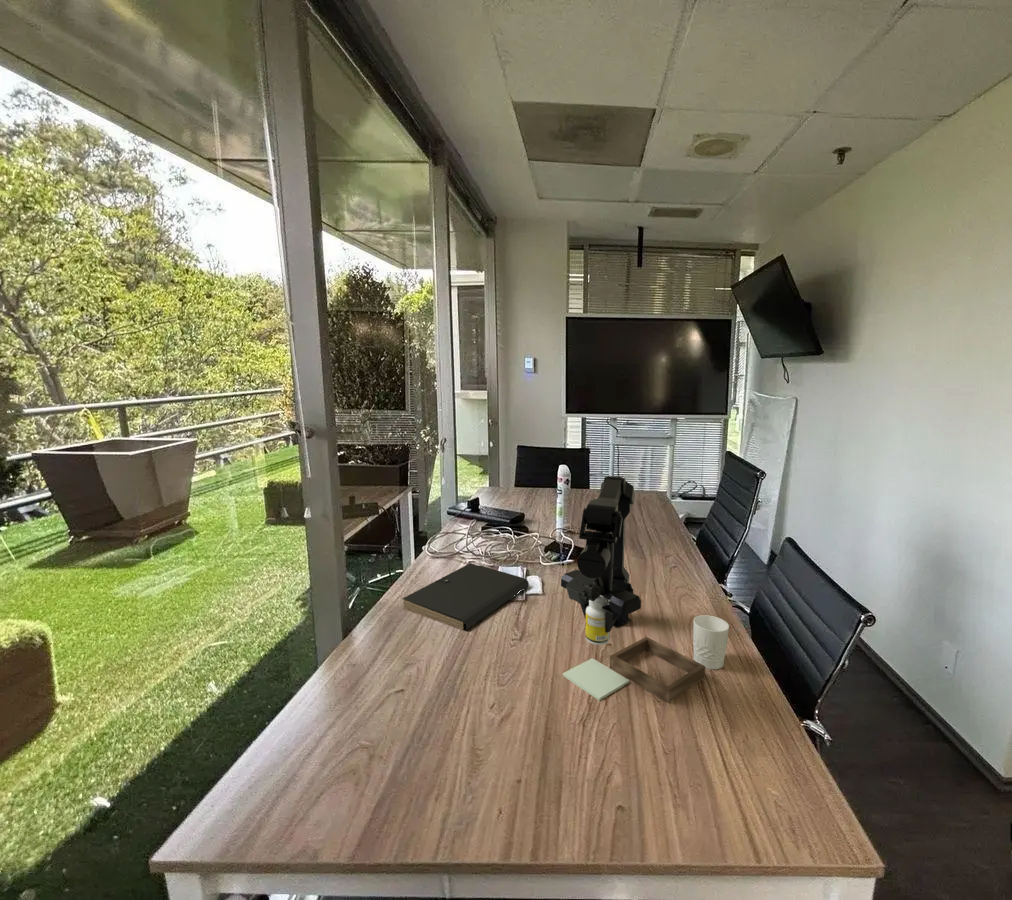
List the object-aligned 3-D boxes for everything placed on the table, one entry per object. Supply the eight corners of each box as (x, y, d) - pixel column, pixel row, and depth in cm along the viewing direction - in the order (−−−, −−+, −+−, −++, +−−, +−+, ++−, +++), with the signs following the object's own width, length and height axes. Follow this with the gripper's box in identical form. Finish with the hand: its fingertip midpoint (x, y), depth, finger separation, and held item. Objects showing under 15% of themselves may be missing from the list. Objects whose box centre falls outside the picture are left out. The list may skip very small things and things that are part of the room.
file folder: (469, 561, 171) (528, 578, 158) (469, 573, 171) (528, 590, 158) (401, 597, 143) (466, 620, 130) (402, 610, 144) (466, 634, 131)
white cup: (705, 673, 113) (707, 633, 111) (684, 655, 120) (686, 617, 119) (733, 668, 115) (736, 628, 113) (711, 650, 122) (713, 613, 121)
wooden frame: (609, 667, 115) (609, 655, 114) (645, 647, 123) (646, 636, 123) (668, 703, 102) (669, 690, 102) (704, 678, 111) (705, 666, 110)
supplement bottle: (592, 630, 113) (593, 590, 111) (613, 638, 109) (615, 597, 108) (580, 640, 109) (581, 599, 107) (602, 648, 105) (603, 606, 104)
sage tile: (562, 675, 112) (562, 673, 112) (592, 660, 118) (592, 658, 118) (599, 700, 103) (599, 698, 103) (629, 682, 109) (629, 680, 109)
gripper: (543, 556, 108) (542, 621, 111) (609, 584, 94) (606, 658, 96) (578, 545, 115) (576, 607, 118) (644, 570, 101) (640, 640, 103)
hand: (597, 626), depth 109 cm, fingers closed on supplement bottle, 5 cm apart
